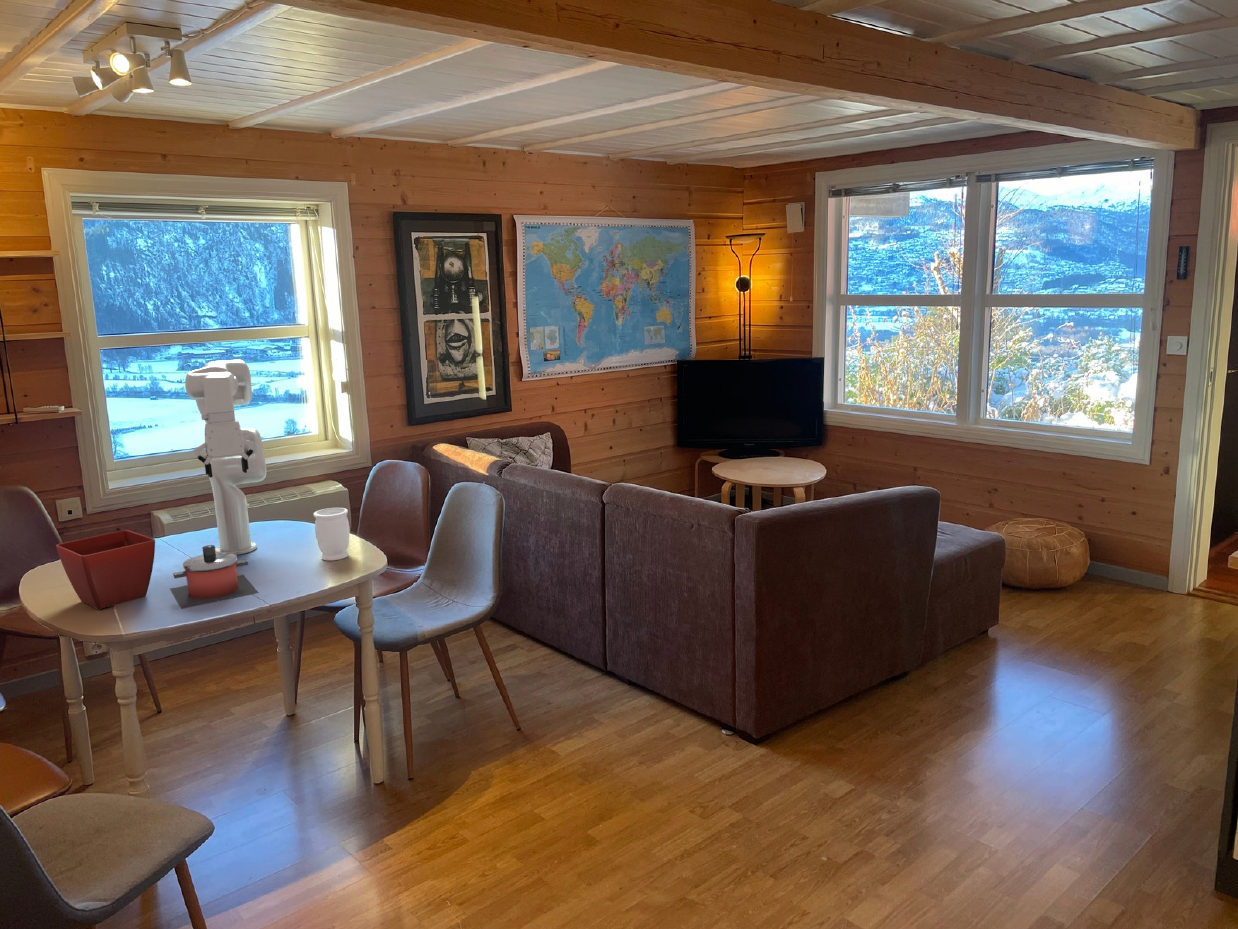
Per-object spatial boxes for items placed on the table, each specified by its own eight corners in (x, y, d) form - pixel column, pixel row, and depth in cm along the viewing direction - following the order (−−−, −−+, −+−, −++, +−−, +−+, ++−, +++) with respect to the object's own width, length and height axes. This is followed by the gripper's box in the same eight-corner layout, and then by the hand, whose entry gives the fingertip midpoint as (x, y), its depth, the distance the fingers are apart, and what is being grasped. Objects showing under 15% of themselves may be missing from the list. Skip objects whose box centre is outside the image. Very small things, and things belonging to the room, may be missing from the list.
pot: (173, 591, 257) (169, 564, 255) (244, 577, 267) (241, 552, 266) (180, 604, 246) (177, 576, 245) (254, 589, 257) (251, 562, 255)
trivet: (170, 590, 260) (169, 588, 259) (243, 576, 270) (243, 574, 270) (181, 610, 243) (181, 608, 243) (259, 594, 254) (258, 592, 254)
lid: (180, 562, 257) (177, 545, 256) (232, 553, 265) (230, 536, 264) (187, 575, 246) (185, 557, 245) (241, 565, 253) (239, 548, 252)
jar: (345, 562, 282) (341, 515, 279) (313, 562, 282) (308, 516, 279) (356, 551, 292) (352, 506, 289) (324, 552, 293) (320, 507, 289)
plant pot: (134, 583, 267) (126, 528, 263) (164, 596, 255) (156, 539, 251) (63, 602, 252) (54, 544, 249) (91, 617, 240) (82, 556, 237)
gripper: (191, 422, 258) (198, 480, 261) (254, 415, 267) (261, 472, 271) (186, 419, 264) (194, 476, 267) (249, 413, 273) (255, 468, 277)
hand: (227, 474), depth 269 cm, fingers open, 9 cm apart
